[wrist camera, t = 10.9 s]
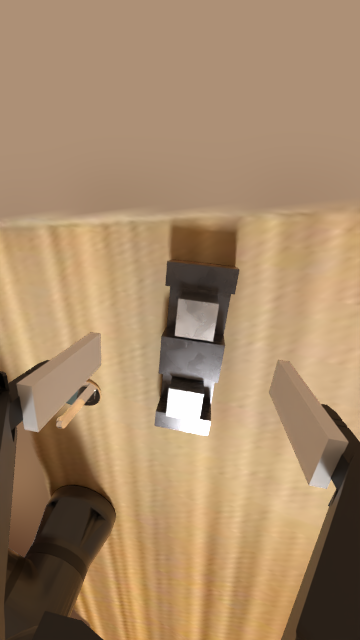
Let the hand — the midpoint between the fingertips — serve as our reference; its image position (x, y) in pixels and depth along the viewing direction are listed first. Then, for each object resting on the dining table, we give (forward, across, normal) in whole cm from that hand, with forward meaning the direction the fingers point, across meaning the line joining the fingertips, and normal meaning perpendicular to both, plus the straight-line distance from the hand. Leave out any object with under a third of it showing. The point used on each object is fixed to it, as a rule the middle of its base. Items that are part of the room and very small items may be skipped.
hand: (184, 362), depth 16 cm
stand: (+15, -18, -18) cm, 30 cm away
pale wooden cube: (+14, 0, 0) cm, 14 cm away
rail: (+15, 0, -6) cm, 16 cm away
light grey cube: (+14, 0, -12) cm, 18 cm away
